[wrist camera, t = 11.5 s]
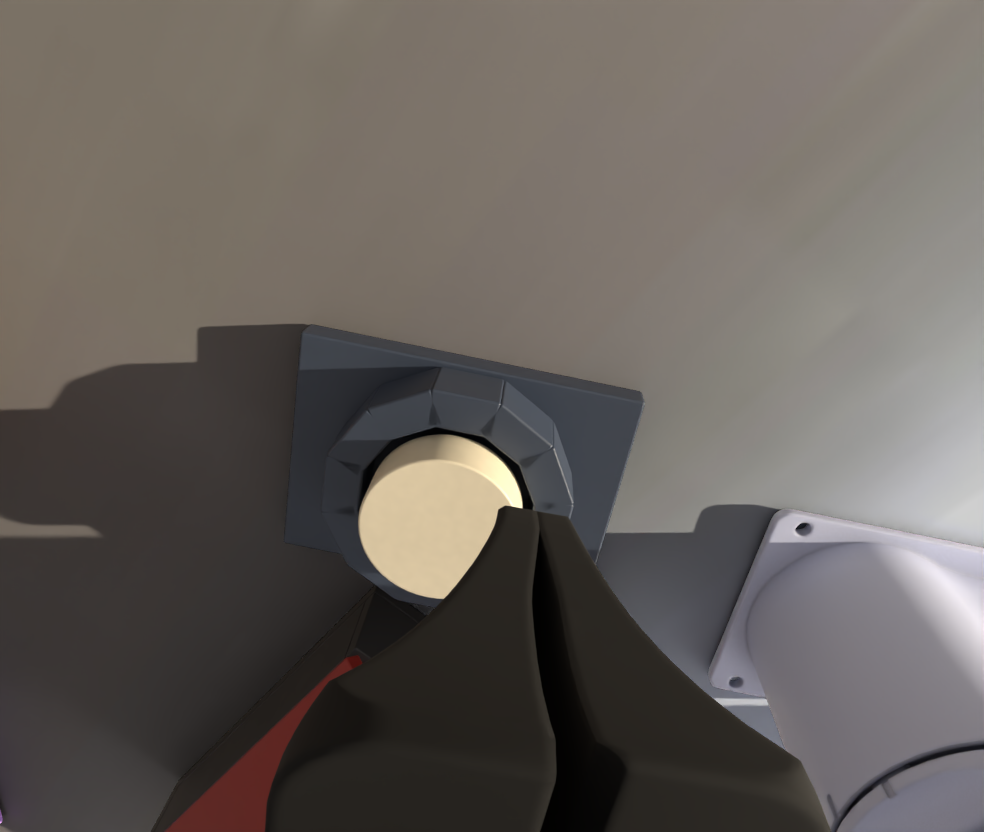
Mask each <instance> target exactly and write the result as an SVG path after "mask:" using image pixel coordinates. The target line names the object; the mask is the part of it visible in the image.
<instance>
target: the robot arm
mask: <svg viewBox="0 0 984 832" xmlns="http://www.w3.org/2000/svg"><path fill="white" fill-rule="evenodd" d="M801 523H807V526H806V527H805V528H803V529H800V530H797V529H796V527H797V526H798V525H799V524H801ZM708 677H709V680H710V683H711V684H712V685H713V686H714V687H716V688H719V689H724V690H729V691H734V692H739V693H744V694H749V695H754V696H759V697H764V698H766V699H767V702H768V704H769V707H770V710H771V713H772V715H773V718H774V721H775V723H776V726H777V729H778V732H779V734H780V737H781V740H782V742H783V745H784V748H785V750H784V749H782V748H781V747H779V746H778V745H776V744H775V743H773V742H772V741H770V740H769V739H767V738H766V737H764V736H763V735H761V734H760V733H758V732H757V731H755V730H754V729H752V728H751V727H749V726H748V725H746V724H745V723H744V722H742V721H741V720H740V719H738V718H737V717H736V716H735V715H733V714H732V713H731V712H729V711H728V710H727V709H725V708H724V707H723V706H722V705H720V704H719V703H718V702H716V701H715V700H714V699H713V698H712V697H710V696H709V695H708V694H707V693H706V692H704V691H703V690H702V689H701V688H700V687H699V686H697V685H696V684H695V683H694V682H693V681H692V680H691V679H690V678H689V677H688V676H687V675H685V674H684V673H683V672H682V671H681V670H680V669H679V668H678V667H677V666H676V665H675V664H674V663H673V662H672V661H671V660H670V659H669V658H668V657H667V656H666V655H665V654H664V653H663V652H662V651H661V650H660V649H659V648H658V647H657V646H656V645H655V644H654V642H653V641H652V640H651V639H650V638H649V637H648V636H647V635H646V634H645V633H644V631H643V630H642V629H641V628H640V627H639V626H638V624H637V623H636V622H635V621H634V620H633V618H632V617H631V616H630V615H629V613H628V612H627V611H626V609H625V608H624V607H623V605H622V604H621V603H620V601H619V600H618V598H617V597H616V596H615V594H614V593H613V591H612V590H611V588H610V587H609V585H608V584H607V582H606V580H605V579H604V577H603V576H602V574H601V573H600V571H599V570H598V568H597V566H596V565H595V563H594V561H593V560H592V558H591V556H590V555H589V553H588V551H587V549H586V548H585V546H584V544H583V542H582V540H581V539H580V537H579V535H578V533H577V531H576V529H575V528H574V526H573V524H572V522H571V521H570V519H569V518H568V517H567V516H561V515H556V514H550V513H545V512H539V511H534V510H528V509H523V508H517V507H512V506H506V505H505V506H503V507H501V508H500V509H498V513H497V518H496V523H495V525H494V528H493V530H492V532H491V534H490V536H489V538H488V540H487V542H486V543H485V545H484V546H483V548H482V550H481V551H480V553H479V555H478V556H477V558H476V559H475V561H474V562H473V564H472V565H471V566H470V568H469V569H468V570H467V572H466V573H465V574H464V576H463V577H462V578H461V579H460V581H459V582H458V583H457V585H456V586H455V587H454V588H453V589H452V590H451V592H450V593H449V594H448V595H447V596H446V597H445V598H444V599H443V600H442V601H441V602H440V603H439V604H438V605H437V606H436V608H435V609H434V610H433V611H431V612H430V613H429V614H428V615H427V616H426V617H425V618H424V619H423V620H422V621H420V622H419V623H418V624H417V625H416V626H415V627H414V628H412V629H411V630H410V631H409V632H408V633H406V634H405V635H404V636H403V637H401V638H400V639H398V640H397V641H395V642H394V643H393V644H391V645H390V646H388V647H387V648H385V649H384V650H383V651H381V652H380V653H378V654H377V655H375V656H374V657H372V658H371V659H369V660H368V661H366V662H364V663H362V664H361V665H359V666H357V667H355V668H353V669H351V670H349V671H348V672H346V673H344V674H342V675H340V676H338V677H336V678H334V679H332V680H330V681H329V682H328V683H327V684H326V686H325V687H324V688H323V690H322V691H321V692H320V694H319V695H318V696H317V698H316V699H315V701H314V702H313V703H312V705H311V706H310V708H309V709H308V711H307V712H306V714H305V715H304V717H303V718H302V720H301V721H300V723H299V725H298V727H297V728H296V730H295V732H294V733H293V735H292V737H291V739H290V741H289V743H288V745H287V747H286V749H285V751H284V753H283V755H282V758H281V760H280V763H279V766H278V768H277V771H276V774H275V776H274V779H273V782H272V785H271V788H270V792H269V796H268V800H267V806H266V822H265V832H984V548H982V547H977V546H972V545H967V544H963V543H958V542H953V541H948V540H943V539H938V538H933V537H928V536H923V535H918V534H913V533H908V532H903V531H898V530H893V529H889V528H884V527H879V526H874V525H869V524H864V523H859V522H854V521H849V520H844V519H839V518H834V517H829V516H824V515H819V514H814V513H810V512H805V511H800V510H795V509H782V510H779V511H778V512H776V513H775V514H774V516H773V517H772V519H771V521H770V523H769V526H768V528H767V531H766V533H765V536H764V538H763V540H762V543H761V545H760V548H759V550H758V552H757V555H756V557H755V560H754V562H753V564H752V567H751V569H750V572H749V574H748V576H747V579H746V581H745V584H744V586H743V588H742V591H741V593H740V596H739V598H738V600H737V603H736V605H735V608H734V610H733V612H732V615H731V617H730V620H729V622H728V624H727V627H726V629H725V632H724V634H723V636H722V639H721V641H720V644H719V646H718V648H717V651H716V653H715V656H714V658H713V660H712V663H711V665H710V668H709V670H708ZM733 677H739V678H738V679H736V680H730V679H731V678H733Z"/></svg>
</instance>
